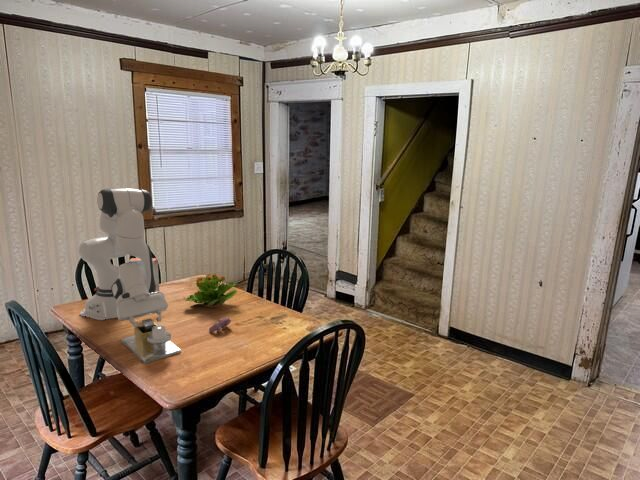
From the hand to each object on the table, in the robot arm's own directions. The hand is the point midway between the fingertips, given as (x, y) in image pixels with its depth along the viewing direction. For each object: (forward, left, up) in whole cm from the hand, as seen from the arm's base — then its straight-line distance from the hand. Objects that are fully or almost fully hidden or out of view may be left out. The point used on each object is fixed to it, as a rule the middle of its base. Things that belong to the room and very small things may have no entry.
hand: (148, 324), depth 179 cm
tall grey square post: (-1, 0, -9) cm, 9 cm away
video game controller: (+21, +23, -10) cm, 33 cm away
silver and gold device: (+1, -1, -10) cm, 10 cm away
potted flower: (+5, +51, -10) cm, 52 cm away
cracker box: (-37, +53, -10) cm, 66 cm away
